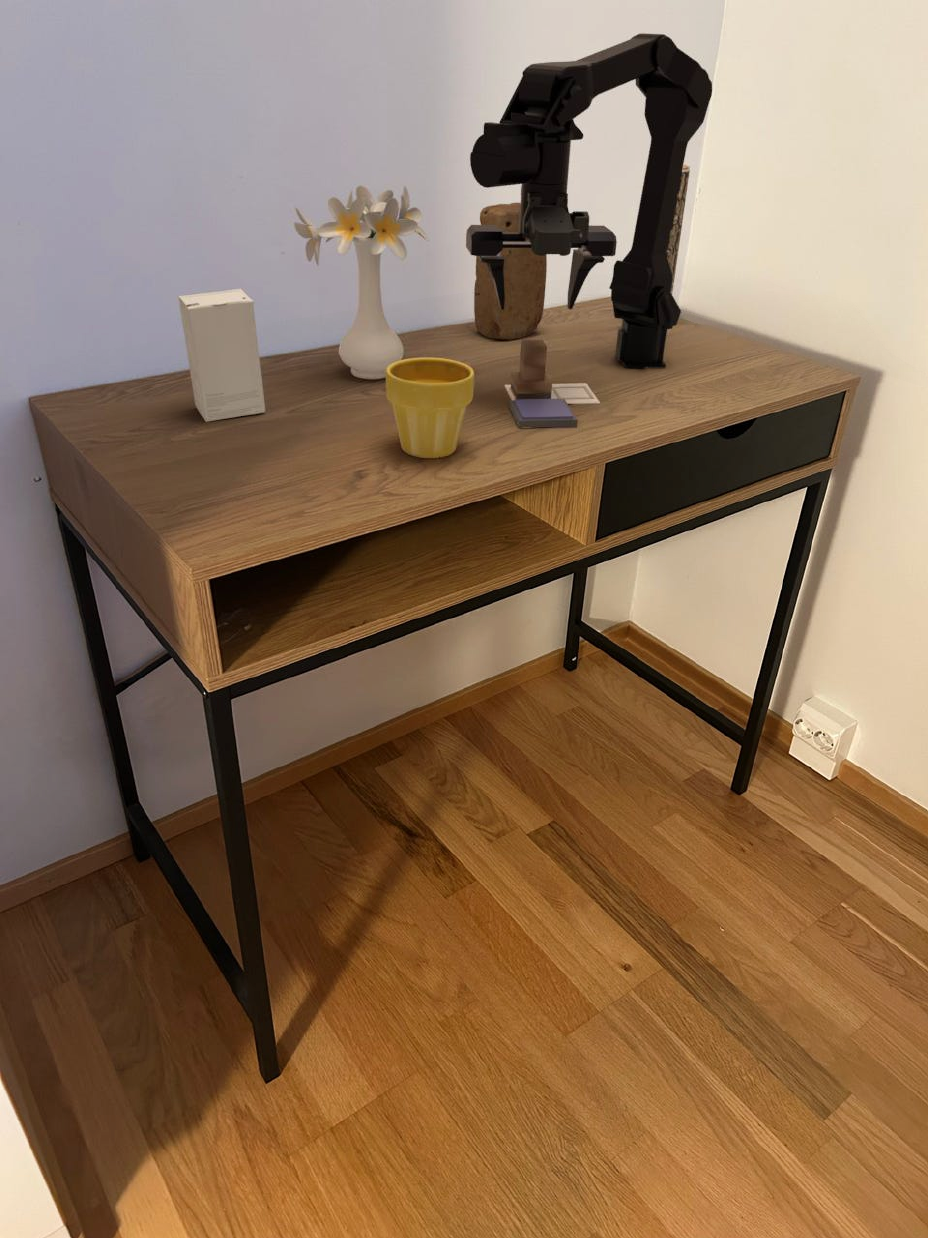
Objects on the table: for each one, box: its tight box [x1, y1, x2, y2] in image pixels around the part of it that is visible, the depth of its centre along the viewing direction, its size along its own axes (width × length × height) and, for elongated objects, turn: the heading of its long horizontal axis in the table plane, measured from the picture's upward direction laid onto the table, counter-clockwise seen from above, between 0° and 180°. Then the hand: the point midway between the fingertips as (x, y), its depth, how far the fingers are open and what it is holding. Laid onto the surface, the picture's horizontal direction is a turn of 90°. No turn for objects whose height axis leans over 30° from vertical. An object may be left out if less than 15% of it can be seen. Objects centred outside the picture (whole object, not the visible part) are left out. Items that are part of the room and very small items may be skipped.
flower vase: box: [293, 184, 429, 380], centre depth 131 cm, size 13×18×25 cm
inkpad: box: [508, 399, 578, 429], centre depth 125 cm, size 8×8×1 cm
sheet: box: [504, 382, 601, 405], centre depth 133 cm, size 12×8×1 cm, turn 97°
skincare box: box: [178, 288, 266, 423], centre depth 120 cm, size 8×6×15 cm
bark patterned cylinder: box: [666, 164, 691, 295], centre depth 159 cm, size 7×7×25 cm
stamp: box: [510, 339, 553, 399], centre depth 131 cm, size 5×5×7 cm
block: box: [473, 202, 548, 341], centre depth 152 cm, size 11×8×20 cm
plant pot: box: [385, 357, 475, 459], centre depth 113 cm, size 10×10×10 cm
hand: (536, 308), depth 126 cm, fingers open, 9 cm apart
